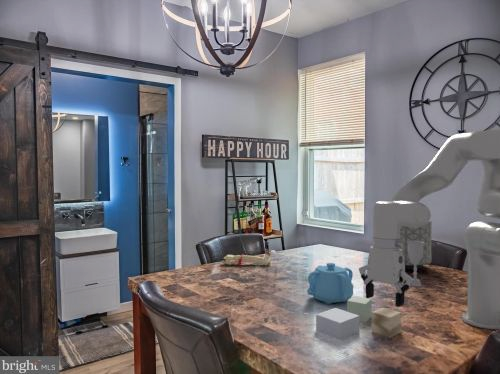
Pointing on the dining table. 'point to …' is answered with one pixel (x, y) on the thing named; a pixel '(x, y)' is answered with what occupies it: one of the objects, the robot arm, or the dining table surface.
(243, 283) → the dining table surface
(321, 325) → the base block
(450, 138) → the robot arm
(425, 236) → the planter
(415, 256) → the chalice
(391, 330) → the maple cube
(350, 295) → the decorative pot
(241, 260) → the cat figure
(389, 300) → the dining table surface
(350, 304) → the sage cube
